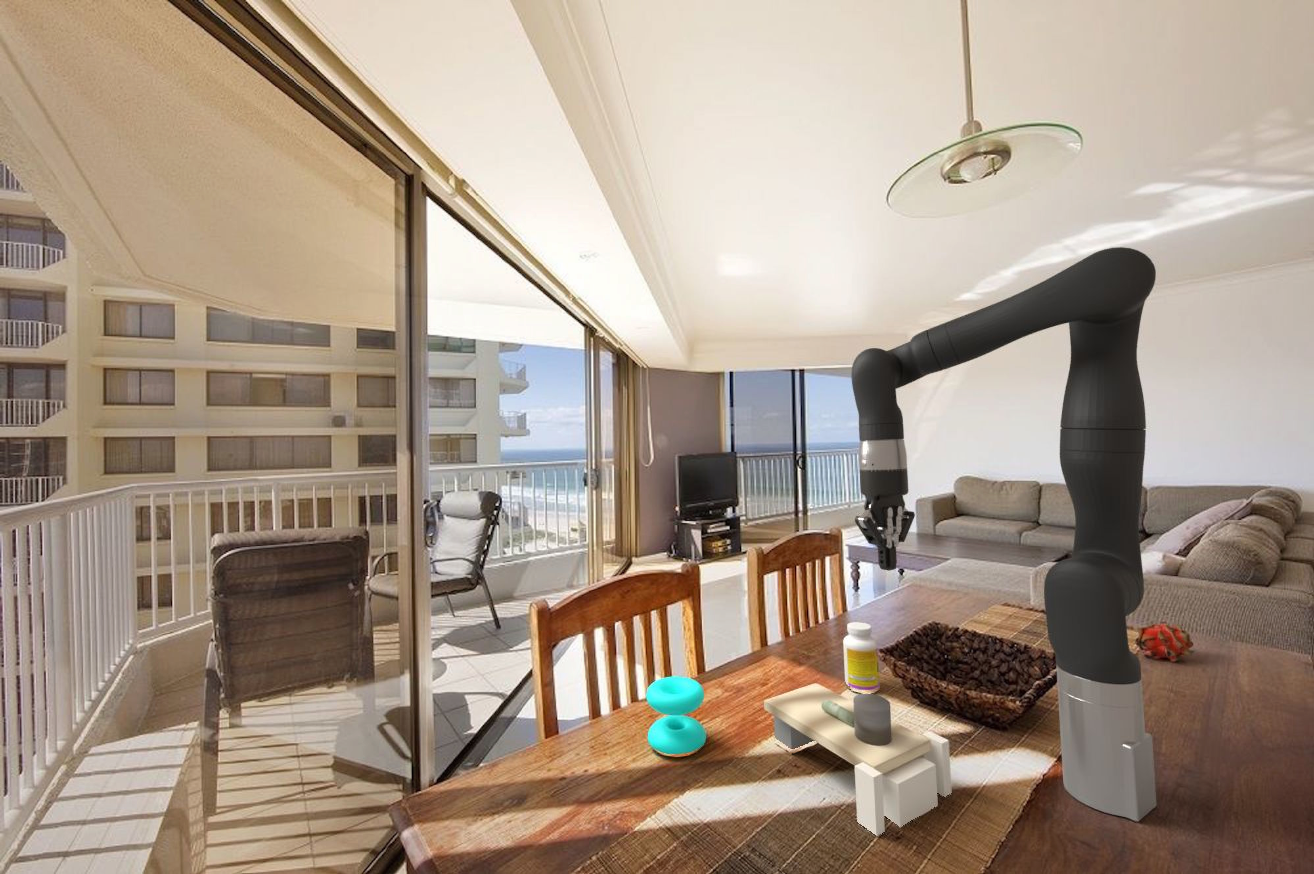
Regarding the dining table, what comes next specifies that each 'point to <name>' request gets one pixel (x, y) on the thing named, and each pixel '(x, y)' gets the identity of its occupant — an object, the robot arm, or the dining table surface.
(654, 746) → the donuts
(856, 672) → the supplement bottle
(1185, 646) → the dragon fruit
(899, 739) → the board
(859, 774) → the level stand
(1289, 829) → the dining table surface
